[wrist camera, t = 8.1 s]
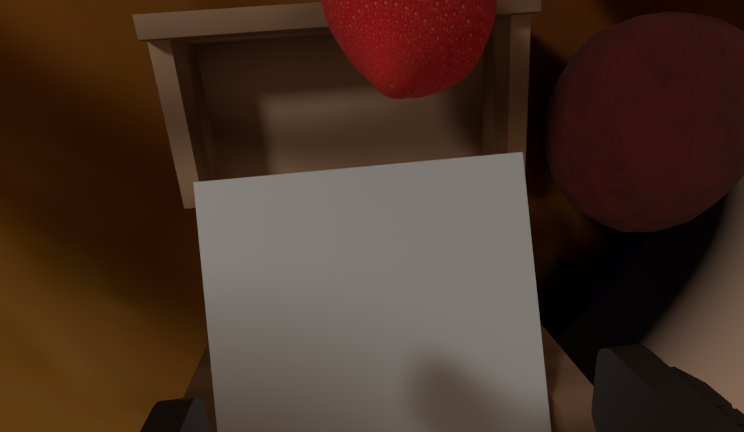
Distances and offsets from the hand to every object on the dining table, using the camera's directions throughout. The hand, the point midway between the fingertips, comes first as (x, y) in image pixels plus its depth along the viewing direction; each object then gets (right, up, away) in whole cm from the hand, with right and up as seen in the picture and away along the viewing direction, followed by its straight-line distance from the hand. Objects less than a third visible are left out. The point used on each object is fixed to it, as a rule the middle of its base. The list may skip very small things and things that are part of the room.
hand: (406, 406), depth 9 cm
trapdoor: (0, -4, +10) cm, 11 cm away
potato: (+14, +10, +19) cm, 26 cm away
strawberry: (0, +8, +4) cm, 8 cm away
